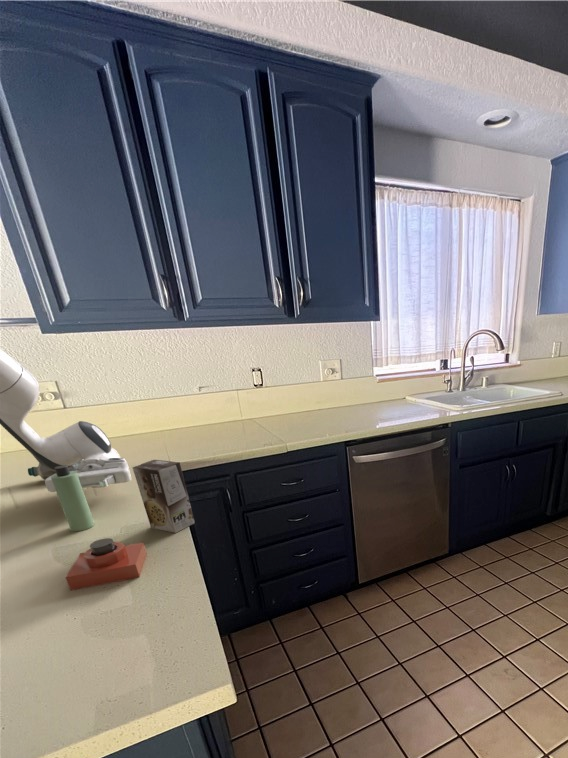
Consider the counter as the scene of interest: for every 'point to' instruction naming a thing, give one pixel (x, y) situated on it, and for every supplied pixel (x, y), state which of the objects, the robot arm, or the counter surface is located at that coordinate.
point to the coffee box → (164, 495)
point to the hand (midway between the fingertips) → (82, 487)
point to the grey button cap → (102, 547)
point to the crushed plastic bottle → (47, 473)
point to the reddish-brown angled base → (107, 566)
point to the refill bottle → (72, 499)
